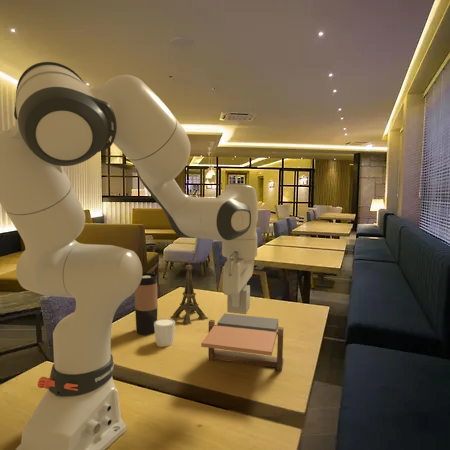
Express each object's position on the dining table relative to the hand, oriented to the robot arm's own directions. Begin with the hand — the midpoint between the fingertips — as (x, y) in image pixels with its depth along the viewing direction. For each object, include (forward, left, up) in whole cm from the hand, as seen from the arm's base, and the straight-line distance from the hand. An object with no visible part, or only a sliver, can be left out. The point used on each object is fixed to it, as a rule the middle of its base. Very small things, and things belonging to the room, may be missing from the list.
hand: (238, 302), depth 89 cm
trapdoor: (+8, 0, -13) cm, 15 cm away
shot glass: (+16, +28, -22) cm, 39 cm away
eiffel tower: (+39, +28, -22) cm, 53 cm away
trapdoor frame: (+11, 0, -22) cm, 24 cm away
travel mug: (+23, +38, -22) cm, 50 cm away
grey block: (0, 0, -2) cm, 2 cm away
